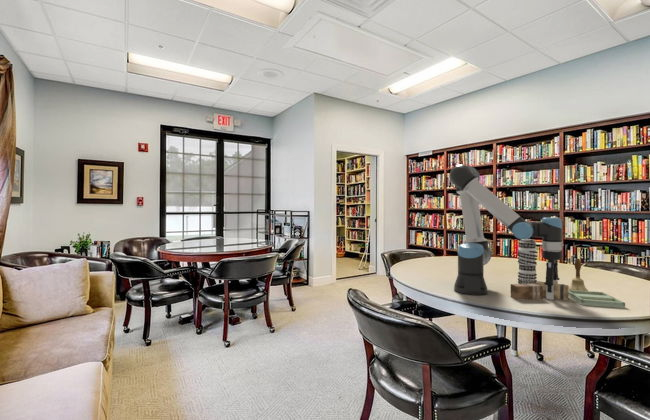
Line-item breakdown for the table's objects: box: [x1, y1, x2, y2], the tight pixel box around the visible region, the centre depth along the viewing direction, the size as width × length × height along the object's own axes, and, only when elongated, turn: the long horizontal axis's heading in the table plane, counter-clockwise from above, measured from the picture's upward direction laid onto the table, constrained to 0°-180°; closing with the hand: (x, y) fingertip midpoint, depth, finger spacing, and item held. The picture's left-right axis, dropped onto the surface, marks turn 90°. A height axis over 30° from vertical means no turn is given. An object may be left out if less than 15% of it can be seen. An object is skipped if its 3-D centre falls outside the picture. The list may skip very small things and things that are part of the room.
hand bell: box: [569, 258, 589, 291], centre depth 160 cm, size 8×8×16 cm
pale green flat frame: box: [568, 290, 626, 309], centre depth 141 cm, size 15×17×2 cm
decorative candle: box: [516, 238, 539, 284], centre depth 167 cm, size 9×9×25 cm
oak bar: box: [536, 280, 570, 301], centre depth 148 cm, size 12×5×6 cm, turn 47°
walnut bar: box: [510, 283, 543, 301], centre depth 146 cm, size 12×5×6 cm, turn 92°
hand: (552, 296), depth 148 cm, fingers open, 12 cm apart
